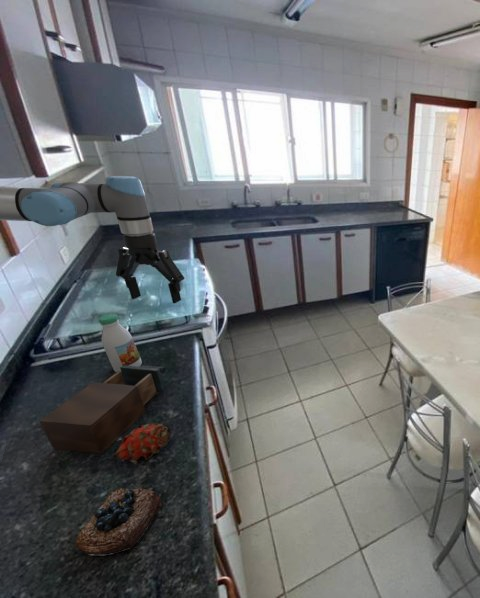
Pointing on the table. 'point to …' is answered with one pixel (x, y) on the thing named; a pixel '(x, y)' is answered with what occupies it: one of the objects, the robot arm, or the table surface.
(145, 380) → the drawer
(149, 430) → the dragon fruit
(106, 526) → the pastry
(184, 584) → the table surface
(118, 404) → the cabinet
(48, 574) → the table surface
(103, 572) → the table surface
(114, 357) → the milk bottle
